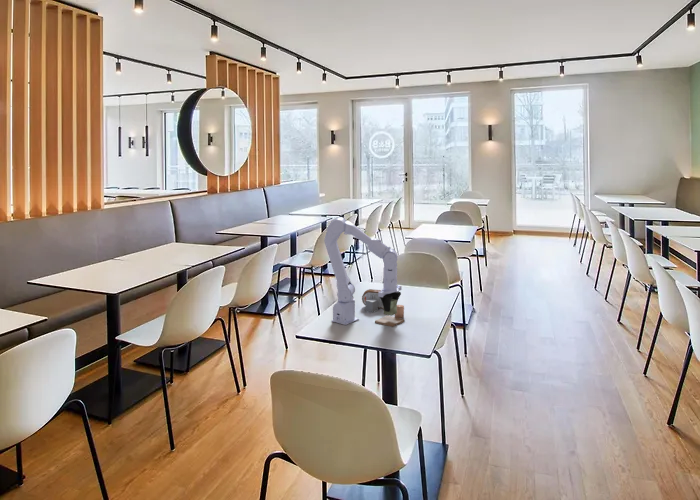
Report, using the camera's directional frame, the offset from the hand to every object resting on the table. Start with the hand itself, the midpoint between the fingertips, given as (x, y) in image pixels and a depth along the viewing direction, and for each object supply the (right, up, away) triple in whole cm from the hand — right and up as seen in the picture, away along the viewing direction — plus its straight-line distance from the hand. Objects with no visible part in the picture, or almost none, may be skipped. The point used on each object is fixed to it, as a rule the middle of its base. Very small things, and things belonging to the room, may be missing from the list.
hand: (390, 309), depth 202 cm
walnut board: (0, -5, +1) cm, 5 cm away
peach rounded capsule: (+5, -4, +7) cm, 10 cm away
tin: (-4, -2, +21) cm, 22 cm away
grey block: (-7, -2, +17) cm, 18 cm away
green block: (0, -2, 0) cm, 2 cm away
